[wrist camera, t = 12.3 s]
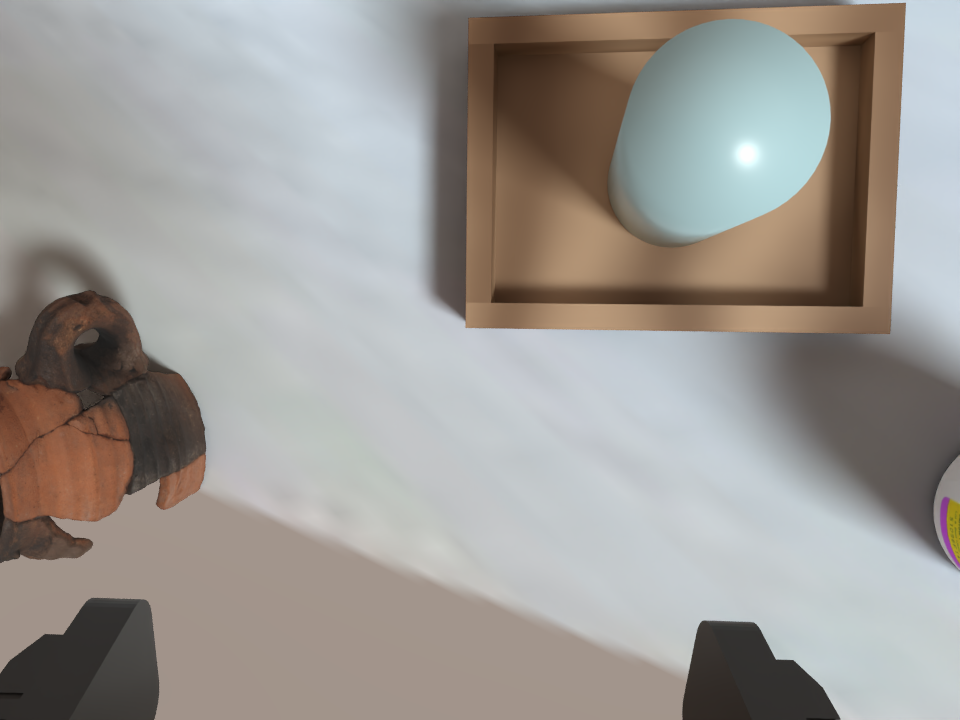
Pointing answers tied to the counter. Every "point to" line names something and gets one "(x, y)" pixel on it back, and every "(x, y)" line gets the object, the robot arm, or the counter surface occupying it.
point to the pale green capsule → (717, 132)
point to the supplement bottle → (949, 512)
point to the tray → (689, 269)
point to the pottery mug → (88, 429)
